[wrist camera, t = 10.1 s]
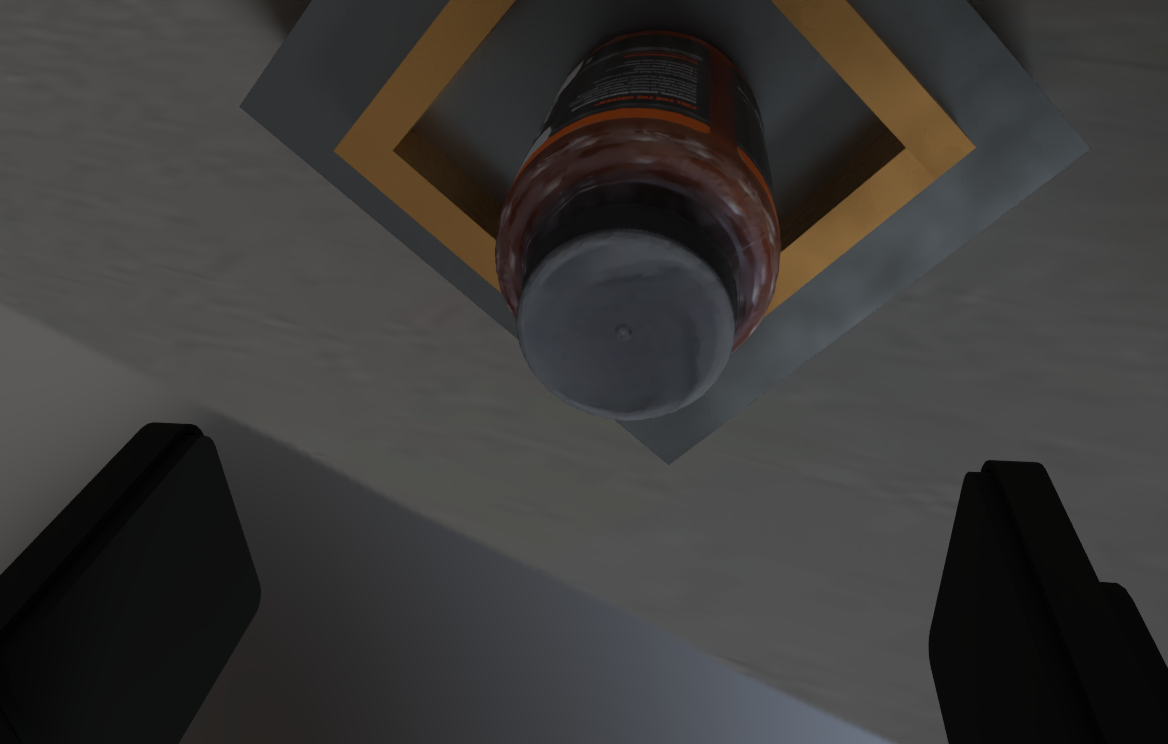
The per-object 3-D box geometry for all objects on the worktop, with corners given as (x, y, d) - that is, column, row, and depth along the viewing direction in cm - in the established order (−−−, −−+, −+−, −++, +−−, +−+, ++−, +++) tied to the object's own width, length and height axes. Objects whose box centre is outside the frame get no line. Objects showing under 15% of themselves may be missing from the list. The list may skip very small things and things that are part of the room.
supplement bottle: (512, 92, 25) (391, 264, 16) (702, -20, 23) (694, 101, 14) (616, 264, 28) (566, 502, 18) (797, 176, 26) (847, 394, 16)
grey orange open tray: (1035, 98, 28) (1118, 174, 23) (674, 388, 36) (666, 501, 30) (509, -527, 22) (434, -648, 16) (205, -21, 30) (78, 21, 24)
